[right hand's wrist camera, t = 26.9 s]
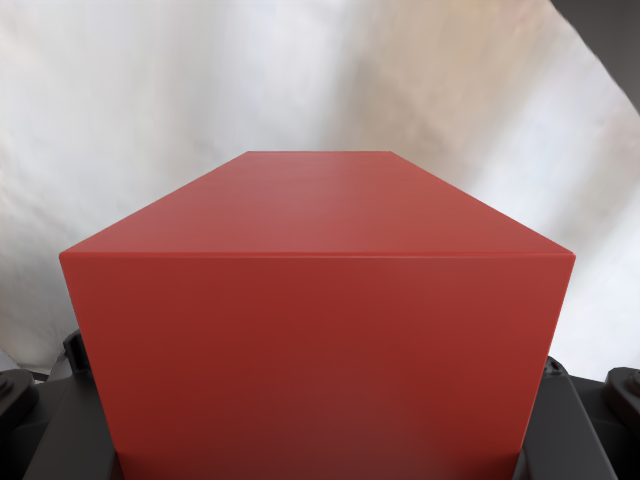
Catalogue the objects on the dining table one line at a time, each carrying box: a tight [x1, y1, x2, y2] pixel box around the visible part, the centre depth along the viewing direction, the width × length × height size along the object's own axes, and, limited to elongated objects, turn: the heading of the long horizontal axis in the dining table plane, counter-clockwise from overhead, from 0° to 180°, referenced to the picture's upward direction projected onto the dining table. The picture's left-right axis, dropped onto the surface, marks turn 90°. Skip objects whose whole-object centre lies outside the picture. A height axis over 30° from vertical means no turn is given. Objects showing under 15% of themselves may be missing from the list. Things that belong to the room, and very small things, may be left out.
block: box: [59, 151, 576, 480], centre depth 11 cm, size 9×6×12 cm
